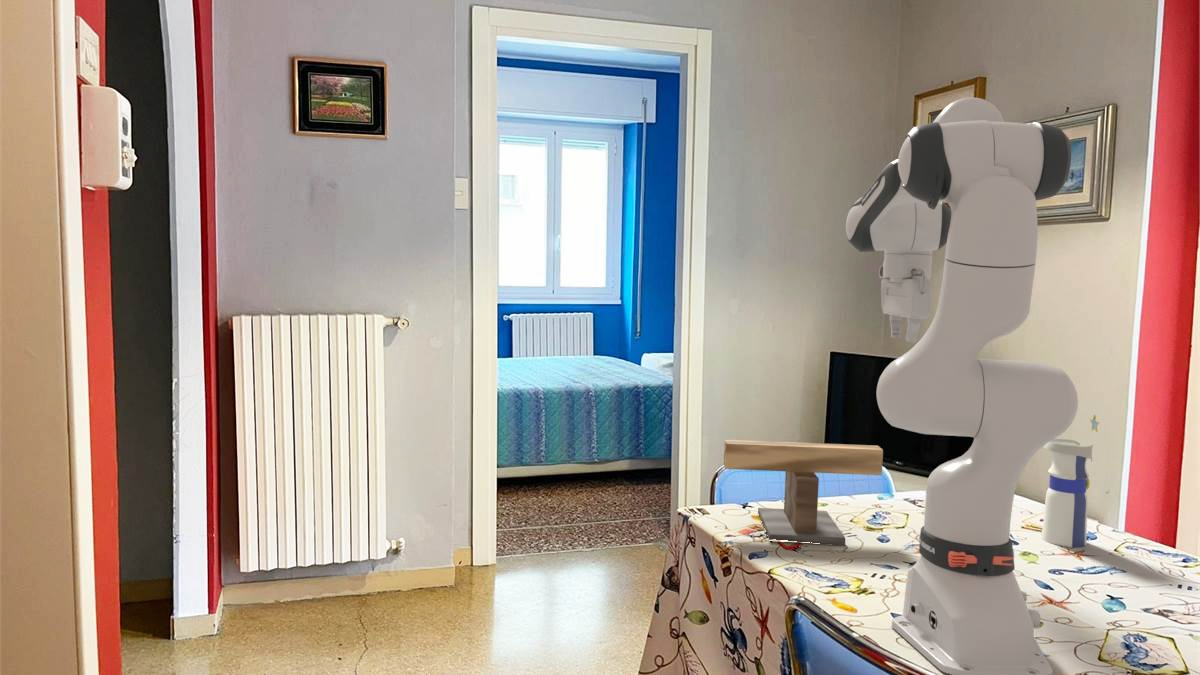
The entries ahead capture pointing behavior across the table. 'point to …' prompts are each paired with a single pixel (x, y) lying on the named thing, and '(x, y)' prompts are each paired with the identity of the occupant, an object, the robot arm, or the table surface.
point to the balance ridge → (801, 514)
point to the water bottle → (1067, 493)
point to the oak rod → (803, 457)
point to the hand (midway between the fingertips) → (903, 339)
